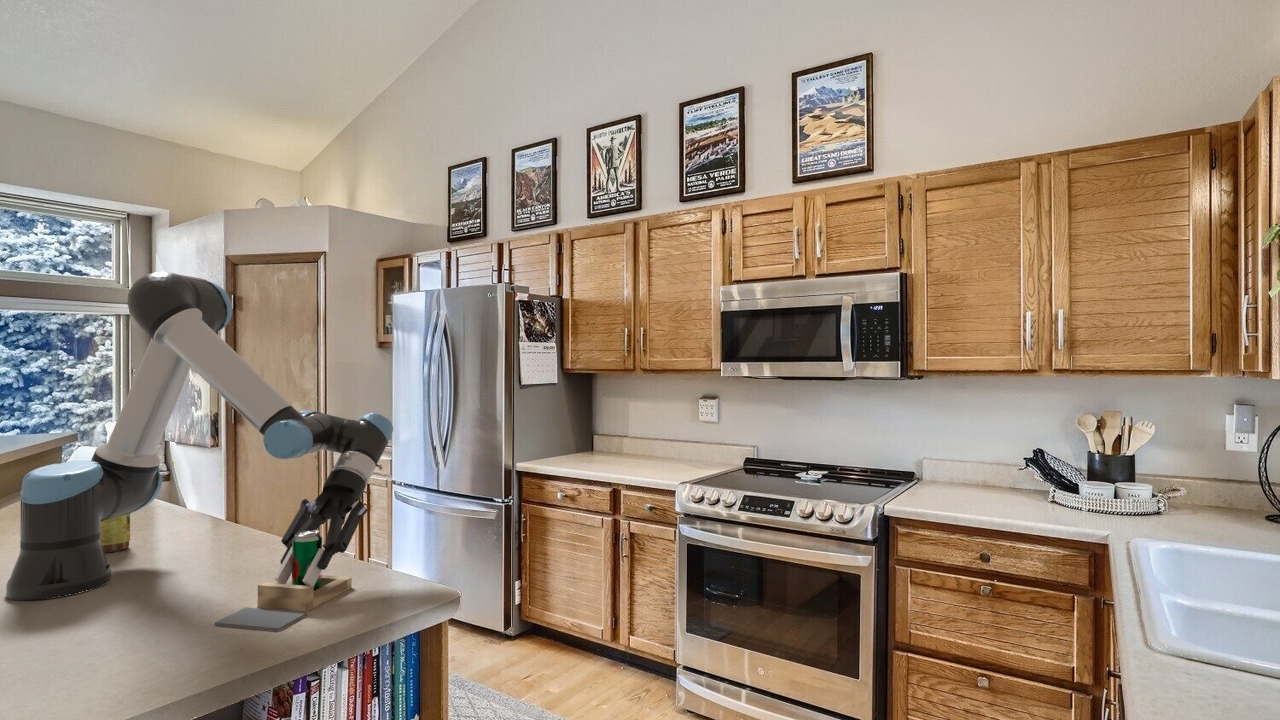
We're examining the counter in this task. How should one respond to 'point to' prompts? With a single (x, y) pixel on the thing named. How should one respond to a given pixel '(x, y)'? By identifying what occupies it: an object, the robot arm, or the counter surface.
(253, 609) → the rubber mat
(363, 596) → the counter surface
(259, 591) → the oak frame
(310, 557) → the soda can
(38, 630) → the counter surface
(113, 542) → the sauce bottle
